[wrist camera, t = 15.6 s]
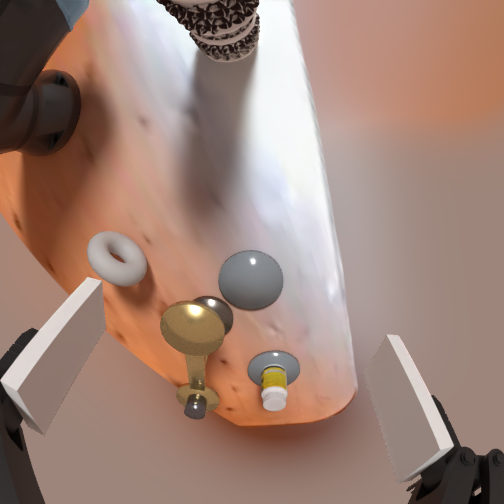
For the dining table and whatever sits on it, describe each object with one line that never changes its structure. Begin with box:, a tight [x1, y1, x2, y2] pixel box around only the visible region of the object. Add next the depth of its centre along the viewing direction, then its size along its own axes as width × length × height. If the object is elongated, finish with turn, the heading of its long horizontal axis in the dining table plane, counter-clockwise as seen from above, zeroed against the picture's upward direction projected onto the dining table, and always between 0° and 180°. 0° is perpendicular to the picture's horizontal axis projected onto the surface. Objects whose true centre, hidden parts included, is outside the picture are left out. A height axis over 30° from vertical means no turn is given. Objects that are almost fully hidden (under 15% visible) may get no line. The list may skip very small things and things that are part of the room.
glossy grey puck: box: [219, 250, 283, 309], centre depth 45 cm, size 10×10×1 cm
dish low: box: [248, 351, 300, 386], centre depth 53 cm, size 10×10×1 cm
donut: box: [87, 231, 147, 287], centre depth 39 cm, size 10×4×10 cm, turn 50°
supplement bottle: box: [261, 364, 288, 411], centre depth 48 cm, size 5×5×8 cm
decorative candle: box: [156, 0, 260, 63], centre depth 20 cm, size 9×9×25 cm
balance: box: [160, 296, 233, 419], centre depth 41 cm, size 8×26×16 cm, turn 172°
